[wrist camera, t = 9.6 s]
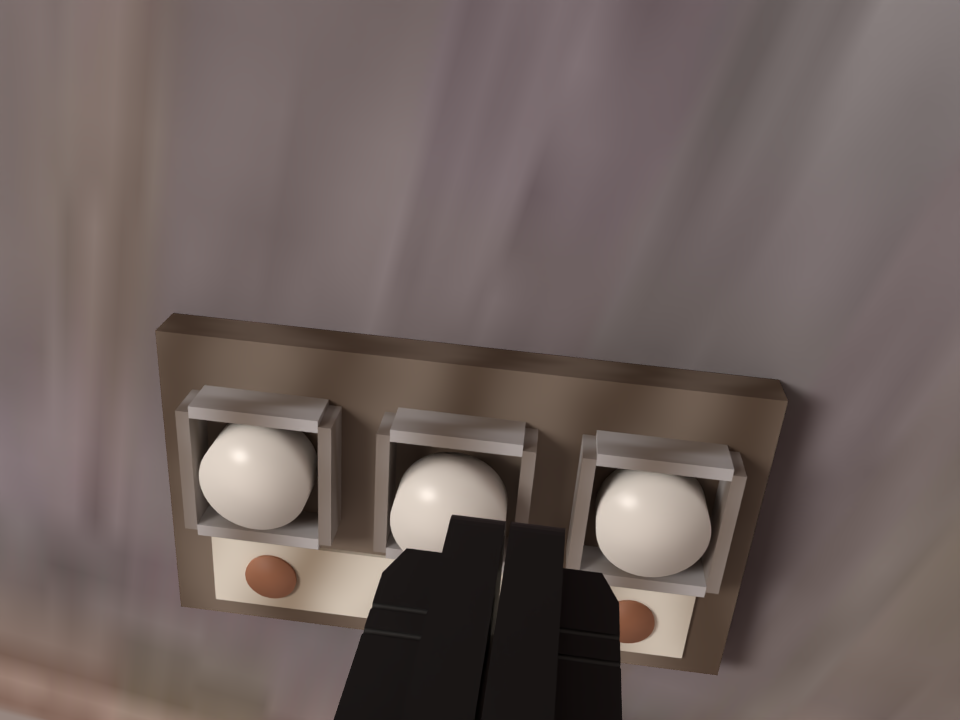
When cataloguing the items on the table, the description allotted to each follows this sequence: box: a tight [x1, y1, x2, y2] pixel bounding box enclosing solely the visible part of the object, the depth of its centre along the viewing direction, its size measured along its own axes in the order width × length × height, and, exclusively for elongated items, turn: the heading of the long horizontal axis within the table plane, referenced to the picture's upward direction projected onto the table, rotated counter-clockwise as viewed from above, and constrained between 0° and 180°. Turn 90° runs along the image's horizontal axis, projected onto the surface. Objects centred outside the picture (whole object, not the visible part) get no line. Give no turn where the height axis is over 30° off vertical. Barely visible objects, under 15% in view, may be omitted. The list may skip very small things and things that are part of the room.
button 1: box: [199, 423, 318, 530], centre depth 42 cm, size 5×5×2 cm
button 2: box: [595, 468, 711, 577], centre depth 41 cm, size 5×5×2 cm
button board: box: [155, 313, 788, 675], centre depth 44 cm, size 28×16×4 cm, turn 86°
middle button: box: [390, 452, 508, 553], centre depth 41 cm, size 5×5×2 cm
